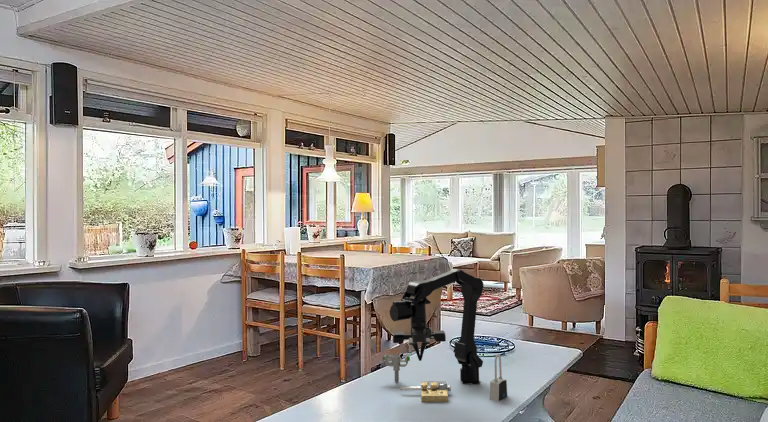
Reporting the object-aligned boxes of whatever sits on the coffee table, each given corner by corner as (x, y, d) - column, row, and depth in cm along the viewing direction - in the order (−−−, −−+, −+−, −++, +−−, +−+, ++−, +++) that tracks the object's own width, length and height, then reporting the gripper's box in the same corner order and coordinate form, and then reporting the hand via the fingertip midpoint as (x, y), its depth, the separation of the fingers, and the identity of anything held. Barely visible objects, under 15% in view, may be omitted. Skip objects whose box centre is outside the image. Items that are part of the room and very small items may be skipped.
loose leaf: (446, 392, 207) (446, 382, 207) (448, 401, 197) (447, 391, 197) (421, 392, 208) (421, 382, 208) (421, 401, 197) (421, 391, 197)
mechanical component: (409, 383, 219) (408, 357, 219) (382, 382, 221) (382, 356, 221) (410, 381, 222) (410, 355, 222) (384, 380, 224) (383, 354, 224)
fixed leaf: (449, 386, 214) (449, 376, 214) (451, 395, 204) (450, 385, 204) (401, 386, 215) (401, 377, 215) (400, 395, 205) (400, 385, 205)
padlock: (499, 401, 196) (498, 357, 196) (488, 399, 199) (487, 355, 199) (508, 396, 201) (507, 353, 201) (497, 394, 204) (496, 351, 204)
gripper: (391, 322, 200) (393, 367, 200) (445, 321, 199) (447, 366, 200) (392, 316, 211) (394, 359, 212) (443, 314, 210) (445, 357, 211)
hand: (420, 360), depth 208 cm, fingers closed
